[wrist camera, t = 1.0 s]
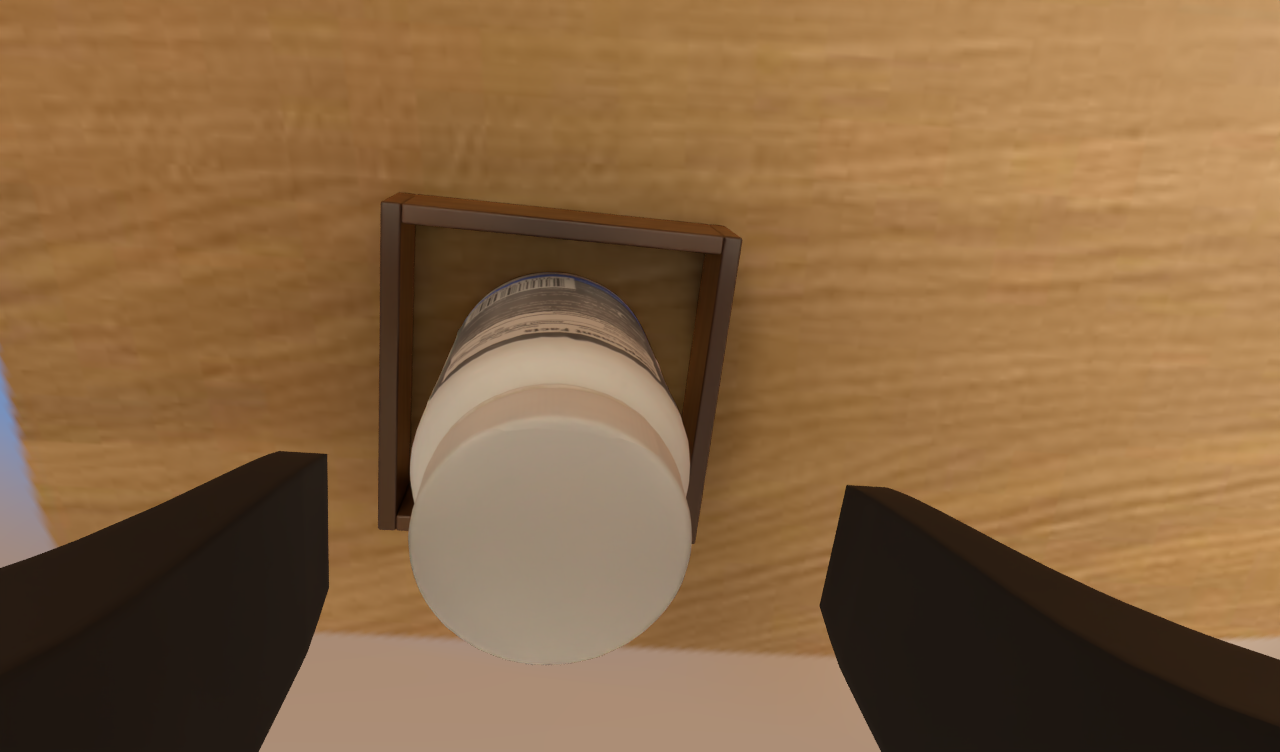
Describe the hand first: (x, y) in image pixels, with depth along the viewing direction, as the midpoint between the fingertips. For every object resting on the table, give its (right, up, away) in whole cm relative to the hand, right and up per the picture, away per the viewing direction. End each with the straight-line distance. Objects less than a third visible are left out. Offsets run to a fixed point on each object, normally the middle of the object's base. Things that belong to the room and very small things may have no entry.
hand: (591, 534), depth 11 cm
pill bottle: (-1, +3, +8) cm, 9 cm away
